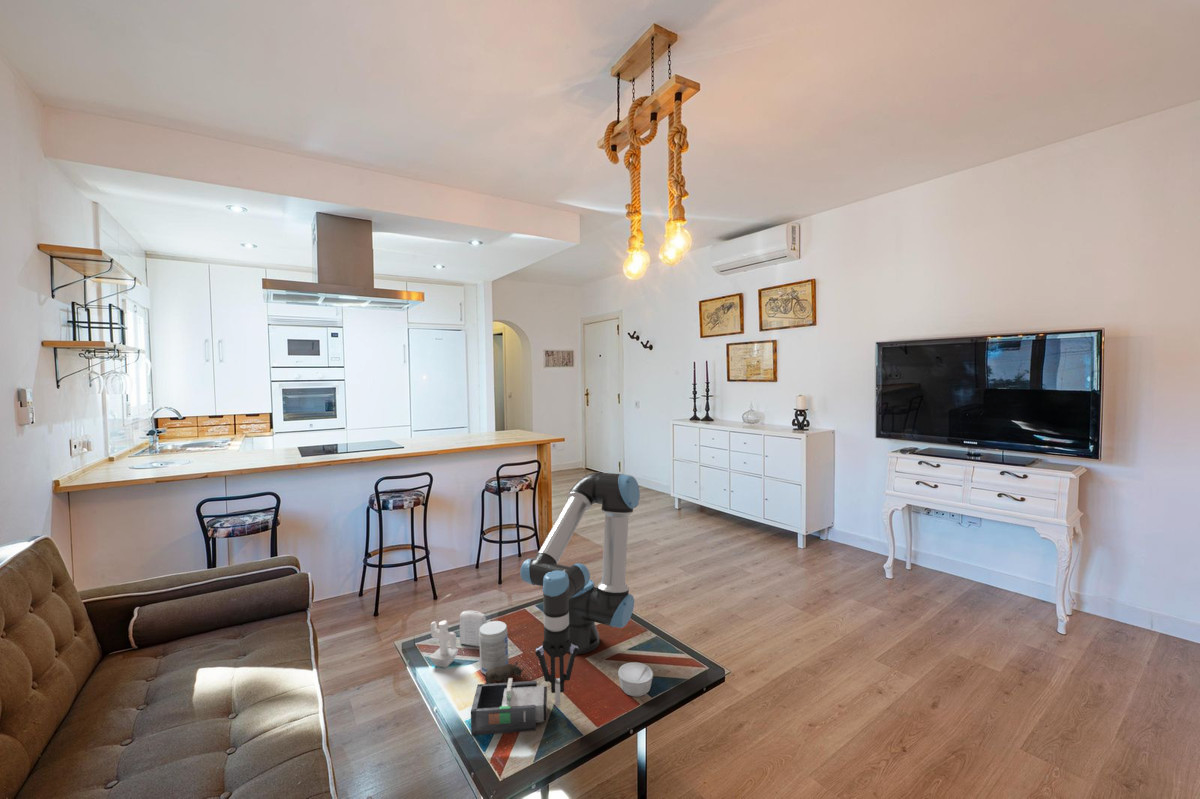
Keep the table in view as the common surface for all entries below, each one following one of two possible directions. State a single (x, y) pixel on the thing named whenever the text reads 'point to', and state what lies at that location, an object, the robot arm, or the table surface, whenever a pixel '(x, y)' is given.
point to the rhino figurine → (502, 673)
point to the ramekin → (635, 678)
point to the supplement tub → (493, 645)
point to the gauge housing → (500, 711)
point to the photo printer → (471, 627)
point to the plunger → (527, 698)
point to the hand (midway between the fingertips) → (557, 701)
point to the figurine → (443, 645)
